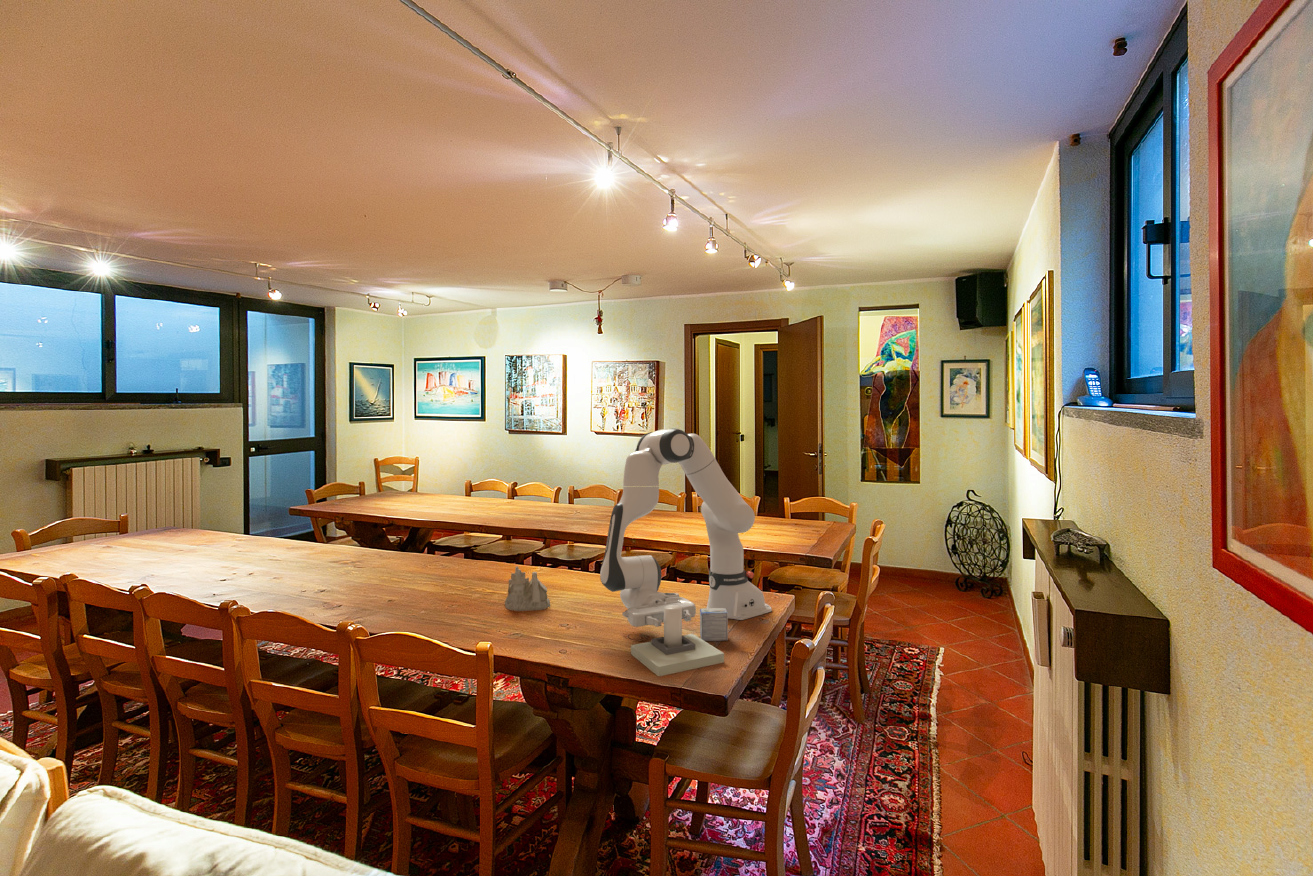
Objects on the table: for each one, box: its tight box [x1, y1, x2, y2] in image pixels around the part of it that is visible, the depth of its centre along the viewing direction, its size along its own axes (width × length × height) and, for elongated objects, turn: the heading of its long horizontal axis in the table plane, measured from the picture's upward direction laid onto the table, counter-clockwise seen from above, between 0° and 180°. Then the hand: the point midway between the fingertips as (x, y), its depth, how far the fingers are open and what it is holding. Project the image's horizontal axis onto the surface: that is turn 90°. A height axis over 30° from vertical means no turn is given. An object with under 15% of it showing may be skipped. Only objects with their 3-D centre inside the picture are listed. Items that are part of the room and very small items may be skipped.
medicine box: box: [699, 607, 729, 642], centre depth 193 cm, size 8×4×9 cm, turn 92°
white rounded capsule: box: [663, 605, 683, 648], centre depth 179 cm, size 5×5×11 cm
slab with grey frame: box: [630, 633, 725, 677], centre depth 178 cm, size 20×17×4 cm
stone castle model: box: [504, 566, 551, 612], centre depth 228 cm, size 16×16×15 cm
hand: (674, 621), depth 179 cm, fingers open, 8 cm apart
